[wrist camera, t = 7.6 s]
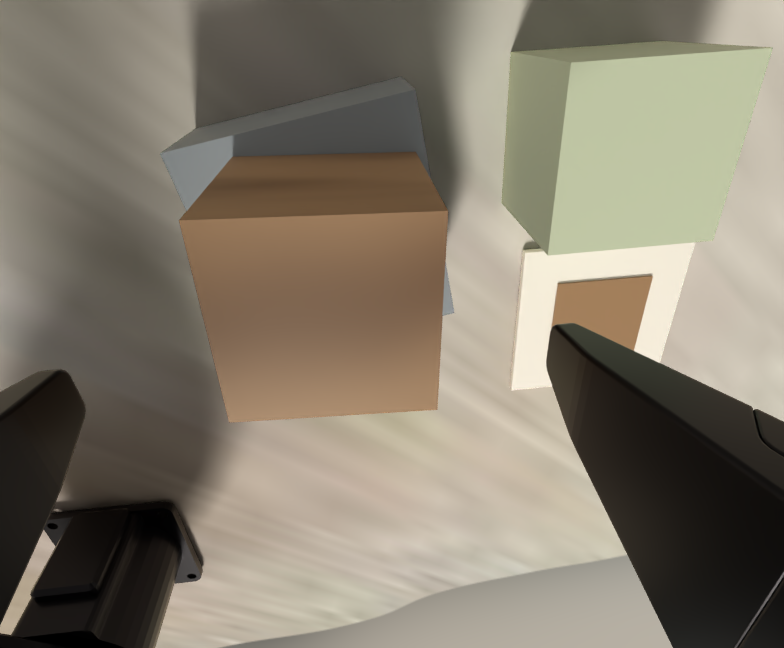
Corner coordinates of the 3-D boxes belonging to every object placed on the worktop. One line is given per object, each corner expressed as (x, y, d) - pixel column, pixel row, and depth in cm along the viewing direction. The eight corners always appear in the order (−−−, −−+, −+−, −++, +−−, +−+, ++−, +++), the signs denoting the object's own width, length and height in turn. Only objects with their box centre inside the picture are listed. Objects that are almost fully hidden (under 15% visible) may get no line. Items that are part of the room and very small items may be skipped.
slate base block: (435, 263, 20) (454, 313, 16) (269, 302, 20) (254, 358, 17) (400, 75, 16) (415, 89, 13) (197, 126, 16) (160, 153, 13)
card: (652, 372, 23) (657, 377, 23) (509, 386, 23) (512, 391, 23) (691, 235, 20) (697, 239, 19) (522, 249, 19) (525, 254, 19)
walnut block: (413, 308, 16) (437, 409, 12) (260, 315, 16) (229, 422, 12) (415, 151, 14) (448, 211, 9) (232, 157, 13) (179, 220, 9)
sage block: (629, 191, 19) (713, 240, 14) (500, 202, 18) (547, 255, 14) (659, 41, 16) (772, 47, 12) (510, 52, 16) (571, 62, 12)
